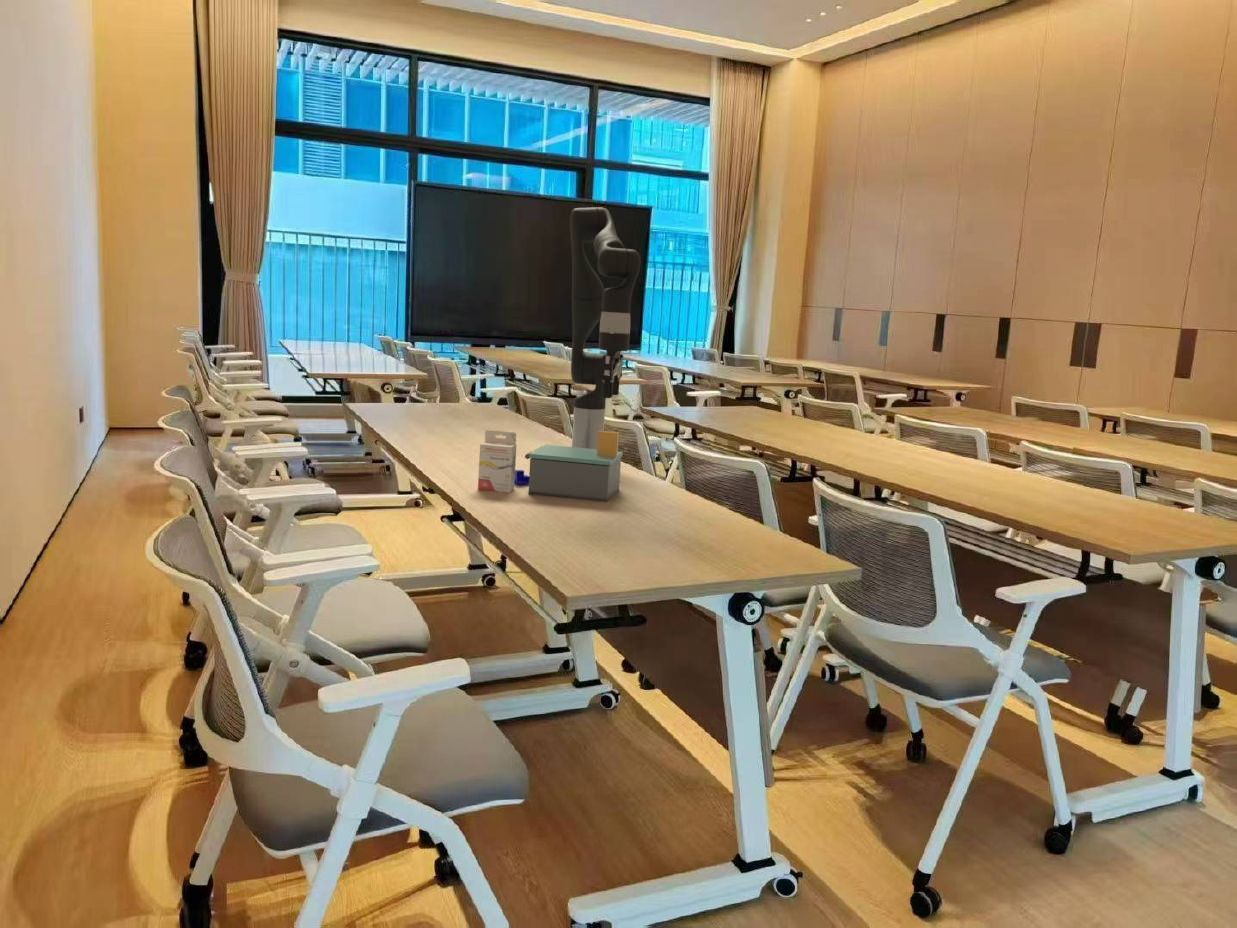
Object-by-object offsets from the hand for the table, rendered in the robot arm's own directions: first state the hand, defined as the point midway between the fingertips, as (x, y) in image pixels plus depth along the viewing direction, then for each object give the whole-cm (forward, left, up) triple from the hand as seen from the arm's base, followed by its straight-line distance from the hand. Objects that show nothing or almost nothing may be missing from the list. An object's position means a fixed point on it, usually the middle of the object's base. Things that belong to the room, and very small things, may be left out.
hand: (610, 396), depth 235 cm
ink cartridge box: (+6, -27, -26) cm, 37 cm away
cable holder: (-6, -25, -26) cm, 36 cm away
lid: (0, -19, -16) cm, 25 cm away
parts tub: (0, -8, -25) cm, 26 cm away
